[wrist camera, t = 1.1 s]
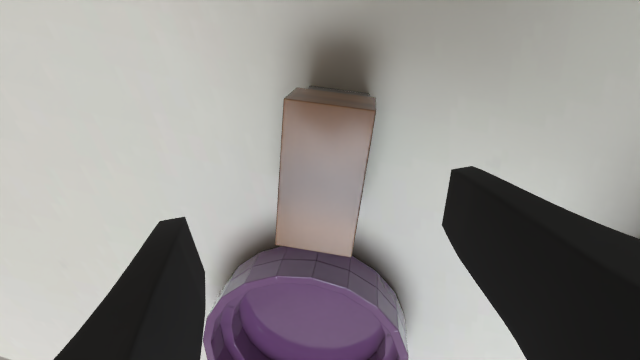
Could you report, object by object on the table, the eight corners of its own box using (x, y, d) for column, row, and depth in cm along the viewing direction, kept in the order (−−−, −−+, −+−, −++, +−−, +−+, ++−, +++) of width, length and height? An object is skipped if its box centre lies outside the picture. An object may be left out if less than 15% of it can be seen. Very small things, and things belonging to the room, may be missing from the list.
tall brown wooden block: (304, 80, 22) (283, 98, 17) (375, 88, 21) (376, 110, 16) (294, 199, 25) (274, 245, 20) (356, 209, 25) (351, 257, 20)
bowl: (440, 340, 28) (450, 388, 24) (301, 400, 33) (292, 447, 29) (325, 205, 25) (316, 237, 21) (189, 295, 30) (164, 333, 26)
